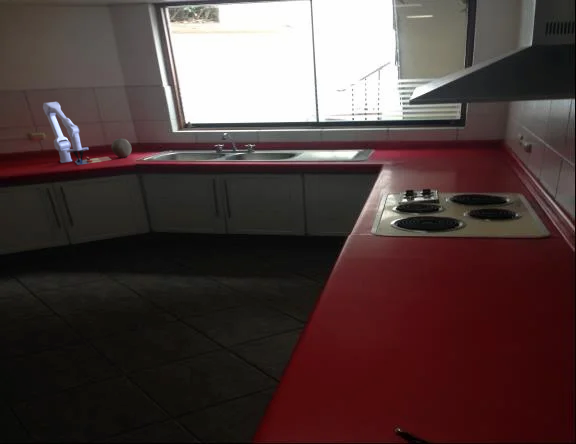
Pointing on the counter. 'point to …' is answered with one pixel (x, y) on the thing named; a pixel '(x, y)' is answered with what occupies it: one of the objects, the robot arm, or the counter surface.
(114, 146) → the cantaloupe
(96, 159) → the board
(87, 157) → the red spoon
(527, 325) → the counter surface
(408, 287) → the counter surface
